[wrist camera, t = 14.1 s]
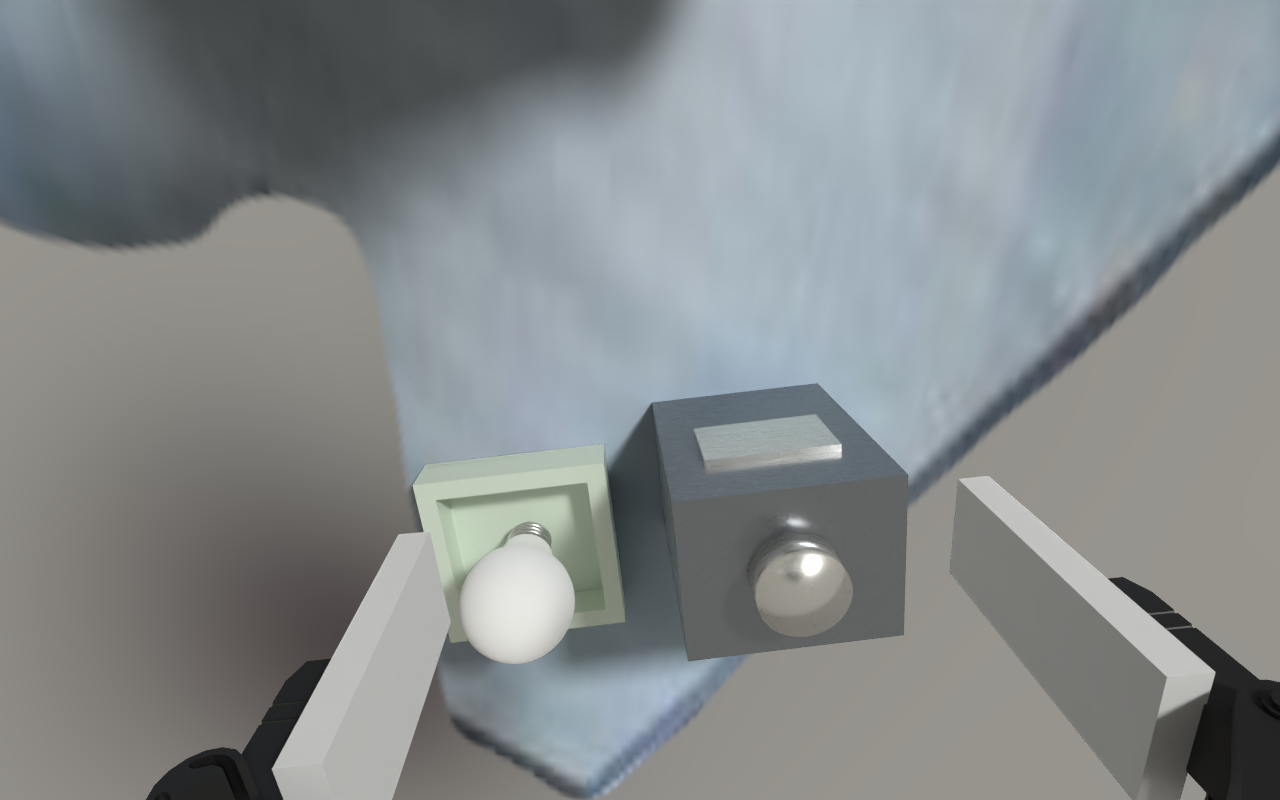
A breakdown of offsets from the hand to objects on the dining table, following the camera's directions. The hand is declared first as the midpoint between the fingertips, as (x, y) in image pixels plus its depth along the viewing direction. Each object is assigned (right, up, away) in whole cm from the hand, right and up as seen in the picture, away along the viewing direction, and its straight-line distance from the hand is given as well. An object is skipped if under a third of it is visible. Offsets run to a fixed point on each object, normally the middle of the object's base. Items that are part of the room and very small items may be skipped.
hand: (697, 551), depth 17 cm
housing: (+5, 0, +29) cm, 29 cm away
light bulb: (-9, -5, +30) cm, 31 cm away
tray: (-9, -5, +30) cm, 32 cm away
